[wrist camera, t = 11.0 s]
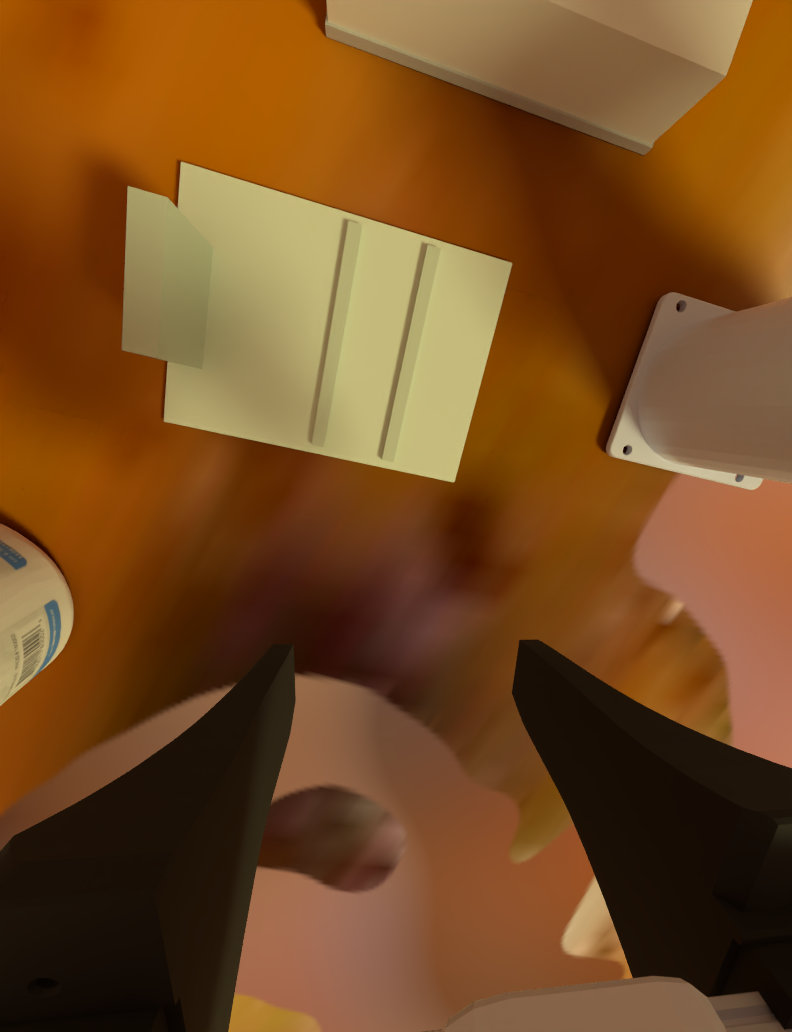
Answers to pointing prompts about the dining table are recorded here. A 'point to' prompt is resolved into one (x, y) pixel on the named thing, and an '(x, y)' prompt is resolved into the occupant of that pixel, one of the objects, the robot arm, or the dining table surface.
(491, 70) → the block
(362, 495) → the dining table surface
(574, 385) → the dining table surface
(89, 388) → the dining table surface
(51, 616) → the supplement tub
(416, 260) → the lid
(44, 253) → the dining table surface
